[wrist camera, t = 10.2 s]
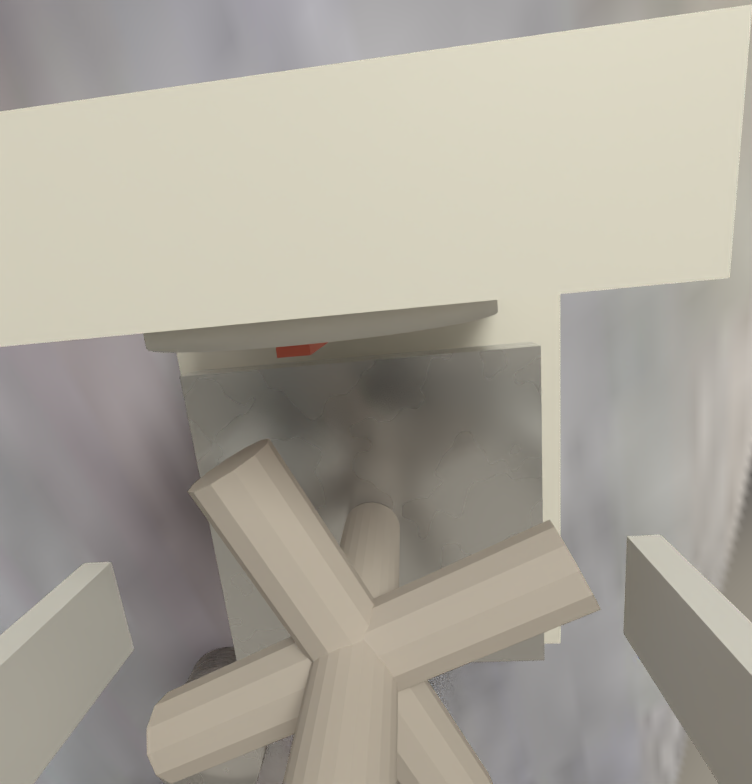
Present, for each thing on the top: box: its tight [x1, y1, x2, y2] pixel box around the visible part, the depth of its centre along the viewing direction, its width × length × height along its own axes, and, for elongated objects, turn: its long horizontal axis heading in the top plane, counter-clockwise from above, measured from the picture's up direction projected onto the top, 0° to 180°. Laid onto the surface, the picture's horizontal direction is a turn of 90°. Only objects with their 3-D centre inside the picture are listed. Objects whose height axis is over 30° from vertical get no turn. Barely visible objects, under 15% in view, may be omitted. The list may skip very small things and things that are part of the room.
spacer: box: [159, 647, 267, 784], centre depth 22 cm, size 5×5×4 cm
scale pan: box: [180, 342, 544, 662], centre depth 15 cm, size 11×11×1 cm
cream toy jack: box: [147, 438, 600, 784], centre depth 10 cm, size 10×10×10 cm
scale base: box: [0, 5, 752, 644], centre depth 13 cm, size 14×18×14 cm
